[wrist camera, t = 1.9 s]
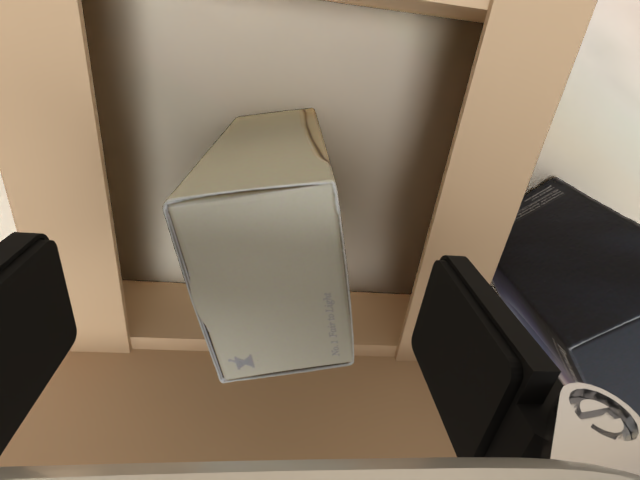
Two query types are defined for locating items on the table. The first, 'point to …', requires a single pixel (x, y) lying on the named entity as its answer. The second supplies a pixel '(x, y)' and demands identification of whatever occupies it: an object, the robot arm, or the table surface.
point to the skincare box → (265, 249)
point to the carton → (173, 298)
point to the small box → (577, 286)
